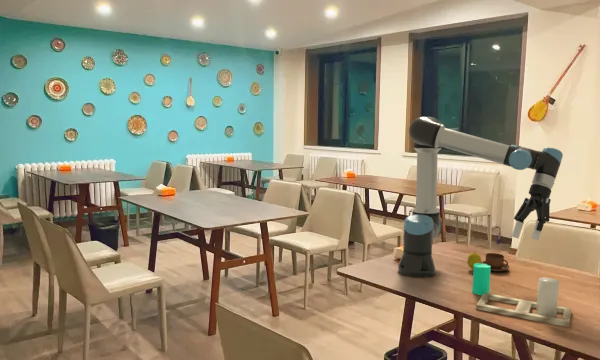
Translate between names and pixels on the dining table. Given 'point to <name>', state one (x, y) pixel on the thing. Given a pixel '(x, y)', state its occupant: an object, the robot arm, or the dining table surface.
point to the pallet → (522, 309)
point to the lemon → (473, 259)
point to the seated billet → (547, 297)
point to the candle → (481, 278)
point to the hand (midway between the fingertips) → (524, 238)
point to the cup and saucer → (496, 262)
